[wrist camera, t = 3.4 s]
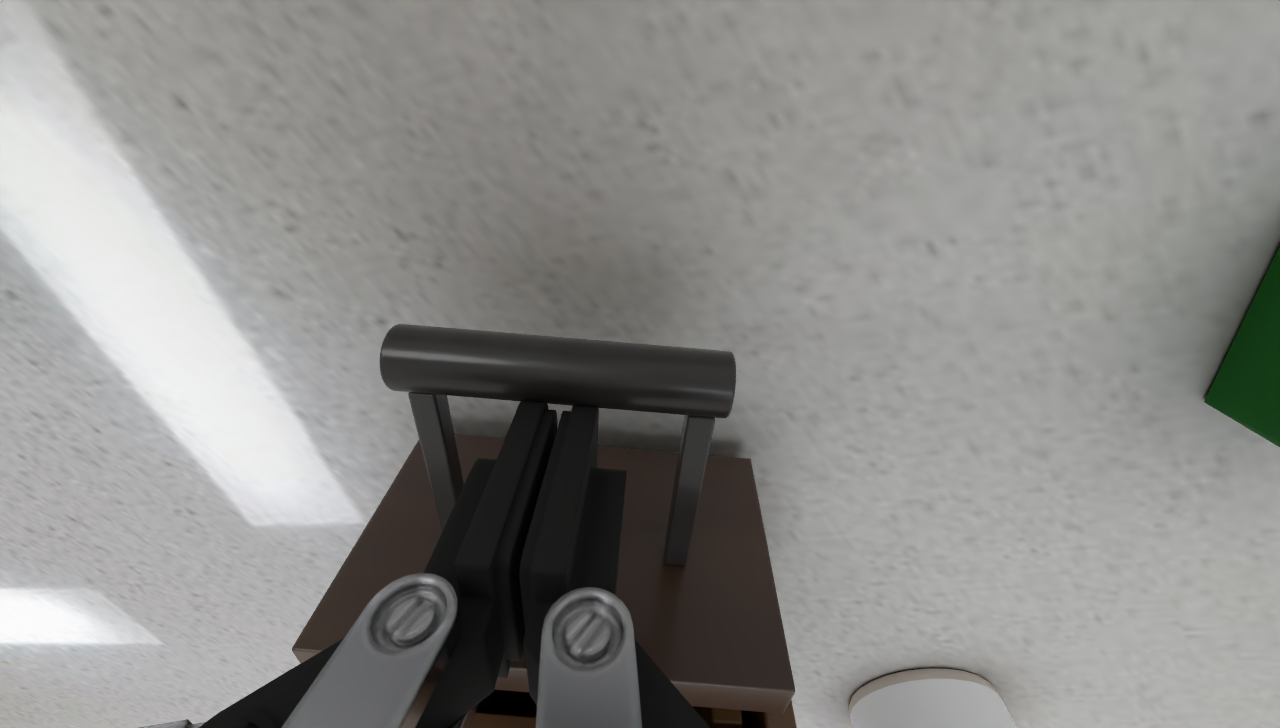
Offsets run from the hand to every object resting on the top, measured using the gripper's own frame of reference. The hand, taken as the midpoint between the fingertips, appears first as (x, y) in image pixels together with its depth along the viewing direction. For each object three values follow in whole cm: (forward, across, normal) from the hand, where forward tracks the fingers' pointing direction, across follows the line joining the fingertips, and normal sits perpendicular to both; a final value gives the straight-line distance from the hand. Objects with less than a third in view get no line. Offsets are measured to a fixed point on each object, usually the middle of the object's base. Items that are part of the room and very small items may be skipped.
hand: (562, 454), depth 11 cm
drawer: (+5, 0, +8) cm, 10 cm away
